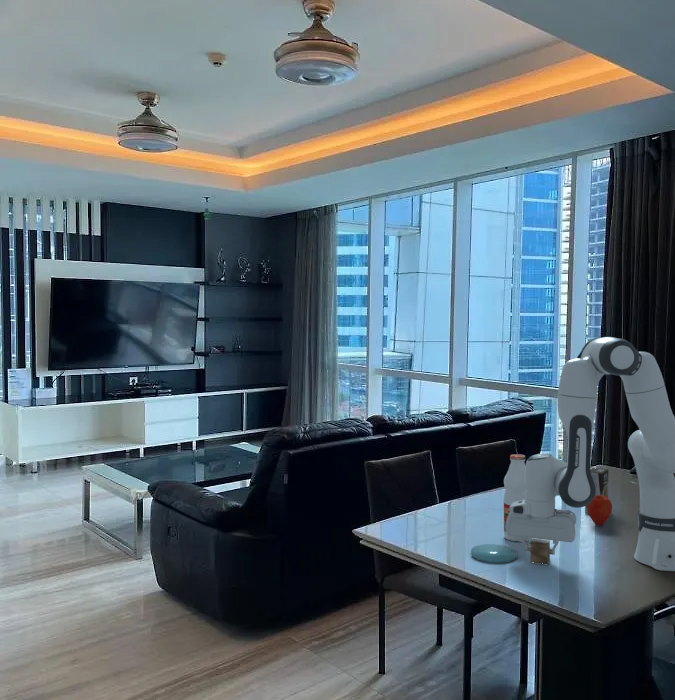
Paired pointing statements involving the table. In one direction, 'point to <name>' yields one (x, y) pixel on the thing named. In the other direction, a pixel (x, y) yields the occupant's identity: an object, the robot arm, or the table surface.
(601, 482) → the coffee box
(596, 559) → the table surface
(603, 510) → the strawberry
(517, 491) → the fruit juice
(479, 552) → the dish
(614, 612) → the table surface
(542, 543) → the walnut block
